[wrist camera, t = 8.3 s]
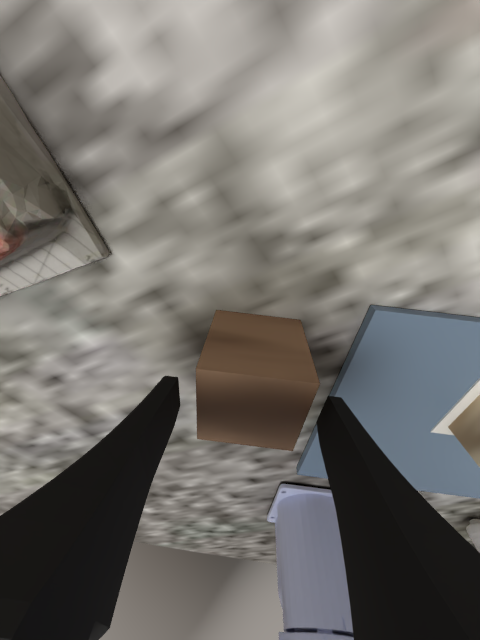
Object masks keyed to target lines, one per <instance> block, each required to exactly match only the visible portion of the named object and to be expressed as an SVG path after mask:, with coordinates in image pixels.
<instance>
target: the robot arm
mask: <svg viewBox="0 0 480 640" xmlns="http://www.w3.org/2000/svg"><path fill="white" fill-rule="evenodd" d="M179 407H180V396H179V384H178V377H171V376H164V377H163V378H162V379H161V381H160V382H159V383H158V384H157V385H156V386H155V387H154V389H153V390H152V391H151V392H150V393H149V394H148V395H147V396H146V397H145V398H144V400H143V401H142V402H141V403H140V404H139V405H138V406H137V407H136V408H135V409H134V410H133V411H132V412H131V413H130V414H129V415H128V416H127V417H126V418H125V419H124V420H123V421H122V422H121V423H120V424H119V425H118V426H116V427H115V428H114V429H113V430H112V431H111V432H110V433H109V434H108V435H107V436H106V437H105V438H103V439H102V440H101V441H100V442H99V443H98V444H97V445H95V446H94V447H93V448H92V449H91V450H89V451H88V452H87V453H86V454H85V455H83V456H82V457H81V458H80V459H78V460H77V461H76V462H75V463H73V464H72V465H71V466H69V467H68V468H67V469H66V470H64V471H63V472H62V473H60V474H59V475H58V476H56V477H55V478H54V479H52V480H51V481H50V482H48V483H47V484H46V485H44V486H43V487H41V488H40V489H38V490H37V491H36V492H34V493H33V494H31V495H30V496H29V497H27V498H26V499H24V500H23V501H22V502H20V503H19V504H17V505H16V506H14V507H13V508H11V509H10V510H8V511H7V512H5V513H4V514H2V515H1V516H0V640H99V639H100V638H101V637H102V636H103V635H104V634H105V633H106V631H107V630H108V629H109V628H110V625H111V621H112V617H113V613H114V609H115V605H116V602H117V598H118V595H119V590H120V587H121V583H122V580H123V576H124V573H125V569H126V566H127V562H128V559H129V555H130V551H131V548H132V544H133V541H134V538H135V534H136V531H137V528H138V524H139V521H140V518H141V514H142V511H143V508H144V505H145V502H146V498H147V495H148V492H149V489H150V486H151V483H152V481H153V478H154V475H155V473H156V470H157V468H158V465H159V463H160V460H161V458H162V455H163V453H164V450H165V448H166V445H167V443H168V440H169V438H170V435H171V433H172V430H173V428H174V425H175V422H176V418H177V415H178V411H179ZM317 430H318V438H319V444H320V449H321V453H322V457H323V461H324V465H325V469H326V473H327V476H328V480H329V484H330V488H331V490H329V489H321V488H314V487H306V486H299V485H291V484H281V485H280V486H279V489H278V491H277V493H276V496H275V498H274V501H273V503H272V506H271V508H270V510H269V513H268V515H267V521H269V522H275V532H276V554H277V574H278V592H279V598H280V603H281V606H282V609H283V623H284V631H285V632H279V640H480V553H479V552H478V551H477V550H476V549H475V548H474V547H473V546H472V545H471V544H470V543H469V542H467V541H466V540H465V539H464V538H463V537H462V536H461V535H460V534H459V533H458V532H457V531H456V530H455V529H454V528H453V527H452V526H451V525H450V524H449V523H448V522H447V521H446V520H445V519H444V518H443V517H442V516H441V515H440V514H439V513H438V512H437V511H436V510H435V509H434V508H433V507H432V506H431V505H430V504H429V503H428V502H427V501H426V500H425V499H424V498H423V497H422V496H421V495H420V494H419V493H418V491H417V490H416V489H415V488H414V487H413V486H412V485H411V484H410V483H409V482H408V481H407V480H406V478H405V477H404V476H403V475H402V474H401V473H400V472H399V470H398V469H397V468H396V467H395V466H394V465H393V463H392V462H391V461H390V460H389V459H388V458H387V456H386V455H385V454H384V453H383V451H382V450H381V449H380V448H379V446H378V445H377V444H376V443H375V441H374V440H373V439H372V438H371V436H370V435H369V434H368V432H367V431H366V430H365V428H364V427H363V426H362V424H361V423H360V422H359V420H358V419H357V418H356V416H355V415H354V414H353V412H352V411H351V410H350V408H349V407H348V406H347V404H346V403H345V402H344V400H343V399H342V398H341V397H334V396H328V398H327V400H326V402H325V404H324V407H323V409H322V411H321V413H320V415H319V417H318V420H317Z"/></svg>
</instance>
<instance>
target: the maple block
mask: <svg viewBox="0 0 480 640" xmlns="http://www.w3.org/2000/svg"><path fill="white" fill-rule="evenodd" d="M448 428H449V429H450V430H451V432H452V433H453V434H454V435H455V437H456V438H457V439H458V441H459V442H460V443H461V444H462V446H463V447H464V448H465V450H466V451H467V452H468V453H469V455H470V456H471V457H472V459H473V460H474V461H475V462H476V464H477V465H478V466H479V467H480V395H479V396H478V397H477V398H476V399H475V400H474V401H473V402H472V403H471V404H470V405H469V406H468V407H467V408H466V409H465V410H464V411H463V412H462V413H461V414H460V415H459V416H458V417H457V418H456V419H455V420H454V421H453V422H452V423H451V424H450V425H449V426H448Z"/></svg>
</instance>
